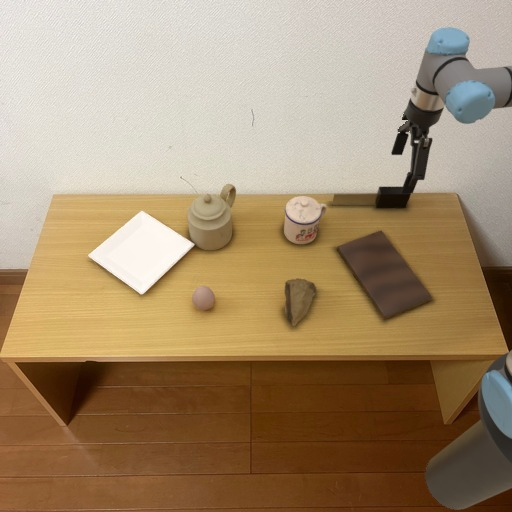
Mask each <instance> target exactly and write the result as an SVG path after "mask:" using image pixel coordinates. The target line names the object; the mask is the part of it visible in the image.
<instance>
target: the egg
mask: <svg viewBox="0 0 512 512" xmlns="http://www.w3.org/2000/svg"><path fill="white" fill-rule="evenodd" d="M194 289H195V290H193V292H192V296H191V301H192V304H193V306H194V307H195V308H196V309H197V310H199V311H208V310H210V309H211V308H212V307H213V306H214V304H215V302H216V295H215V293H214V291H213V290H212V289H211V288H210V287H209V286H207V285H199V286H198V287H196V288H194Z"/></svg>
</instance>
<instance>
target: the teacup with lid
mask: <svg viewBox="0 0 512 512" xmlns="http://www.w3.org/2000/svg"><path fill="white" fill-rule="evenodd" d="M326 211H327V205H326V204H325V203H319V202H318V200H316V199H315V198H313V197H310V196H306V195H298V196H295V197H292V198H291V199H289V200H288V202H287V203H286V204H285V207H284V213H285V214H284V215H285V216H284V223H283V226H284V227H283V233H284V236H285V238H286V239H287V240H288V241H289V242H291V243H292V244H296V245H306V244H310V243H311V242H313V241H314V240H315V239H316V237H317V235H318V230H319V224H320V219H321V218H322V217H323V216H324V215H325V213H326Z"/></svg>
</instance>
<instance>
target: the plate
mask: <svg viewBox="0 0 512 512" xmlns="http://www.w3.org/2000/svg"><path fill="white" fill-rule="evenodd" d="M194 246H195V244H194V243H193V242H192V240H189V239H187V238H186V237H185V236H183V235H181V234H180V233H179V232H177V231H175V230H173V229H172V228H170V227H169V226H167V225H166V224H164V223H163V222H161V221H159V220H158V219H156V218H154V216H151V215H150V214H148V213H147V212H145V211H144V210H139V212H138V213H137V214H135V215H134V216H133V217H132V218H131V219H129V220H128V221H127V222H126V223H124V224H123V225H122V226H121V227H120V228H119V229H117V230H116V231H115V232H114V233H112V235H110V236H108V238H107V239H105V240H104V241H103V242H101V244H100V245H98V246H97V247H96V248H95V249H94V250H92V251H91V252H89V254H88V255H87V256H88V258H90V259H92V260H93V261H94V262H95V263H97V264H98V265H100V266H101V267H102V268H104V269H105V270H106V271H108V272H109V273H110V274H112V275H114V276H115V277H116V278H118V279H119V280H120V281H122V282H123V283H124V284H126V285H127V286H129V287H130V288H131V289H133V290H134V291H135V292H137V293H138V294H140V295H144V294H145V293H146V292H147V291H148V290H149V289H150V288H151V287H152V286H154V284H156V283H157V281H159V280H160V279H161V278H162V277H163V276H164V275H165V274H166V273H167V272H168V271H169V270H170V269H171V268H172V267H173V266H174V265H175V264H177V262H179V261H180V260H181V259H182V258H183V257H184V256H185V255H186V254H187V253H188V252H189V251H190V250H191V249H192V248H193V247H194Z"/></svg>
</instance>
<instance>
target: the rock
mask: <svg viewBox="0 0 512 512" xmlns="http://www.w3.org/2000/svg"><path fill="white" fill-rule="evenodd" d="M316 294H318V288H317V287H316V285H315V283H314V282H312V281H308V280H307V279H305V278H298V277H297V278H293V279H292V278H291V279H287V280H286V281H285V282H284V296H285V302H284V314H285V316H286V318H287V321H288V322H289V323H290V324H291V325H292V326H293V327H296V326H297V324H298V323H299V322H300V321H301V320H303V318H304V317H306V315H307V313H308V312H309V308H310V305H311V304H312V302H313V297H314V296H315V295H316Z"/></svg>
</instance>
